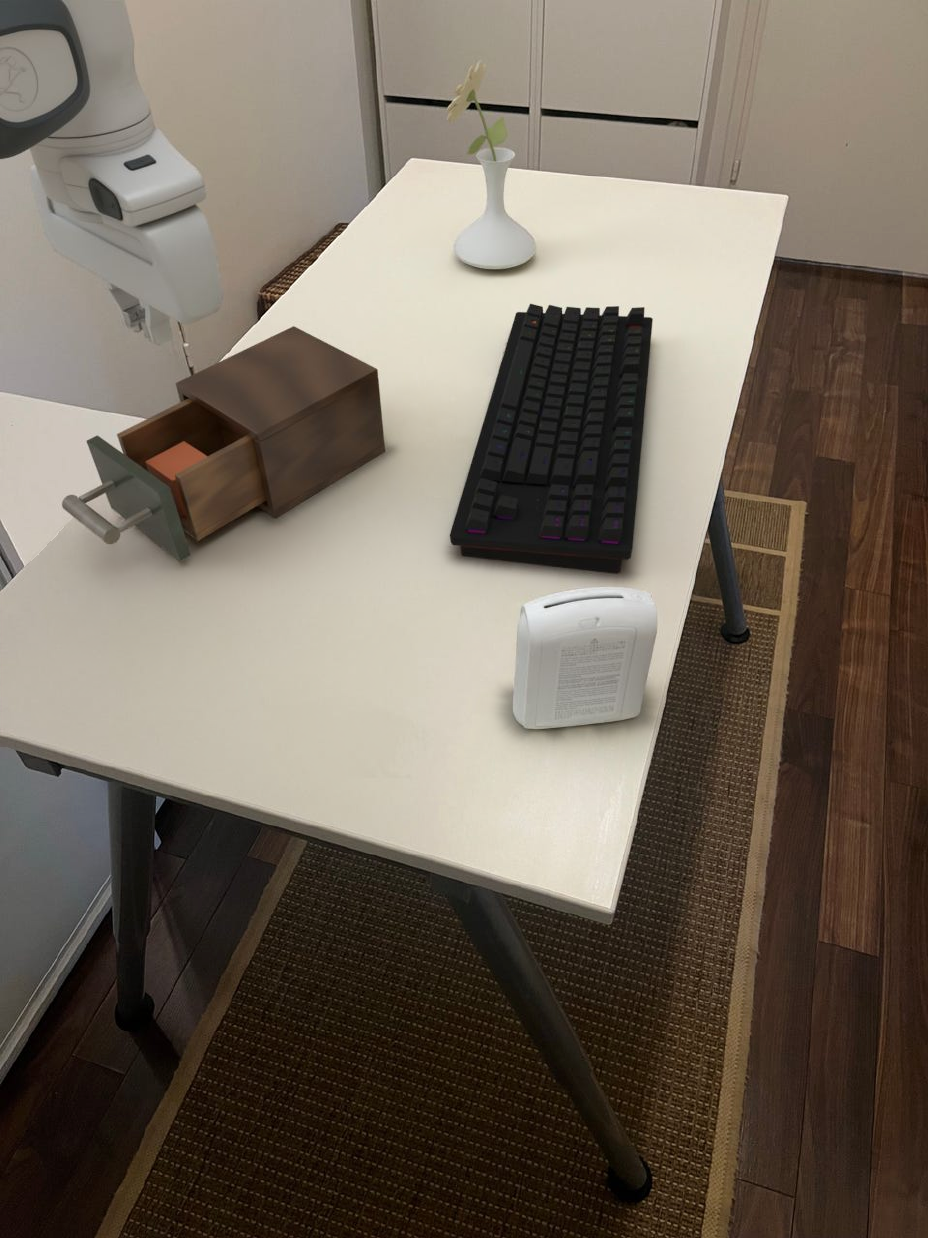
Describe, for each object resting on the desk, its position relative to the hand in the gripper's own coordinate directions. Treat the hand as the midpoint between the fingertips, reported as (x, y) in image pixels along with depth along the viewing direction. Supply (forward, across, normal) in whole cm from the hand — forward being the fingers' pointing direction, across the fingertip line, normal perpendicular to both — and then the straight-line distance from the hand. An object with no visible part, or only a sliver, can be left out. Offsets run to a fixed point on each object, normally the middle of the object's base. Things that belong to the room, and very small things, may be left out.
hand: (149, 333), depth 77 cm
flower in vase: (+19, -15, +60) cm, 65 cm away
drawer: (+18, 0, -2) cm, 18 cm away
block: (+17, 0, -1) cm, 17 cm away
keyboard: (+19, +19, +34) cm, 43 cm away
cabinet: (+19, 0, +12) cm, 22 cm away
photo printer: (+19, +43, +6) cm, 47 cm away
